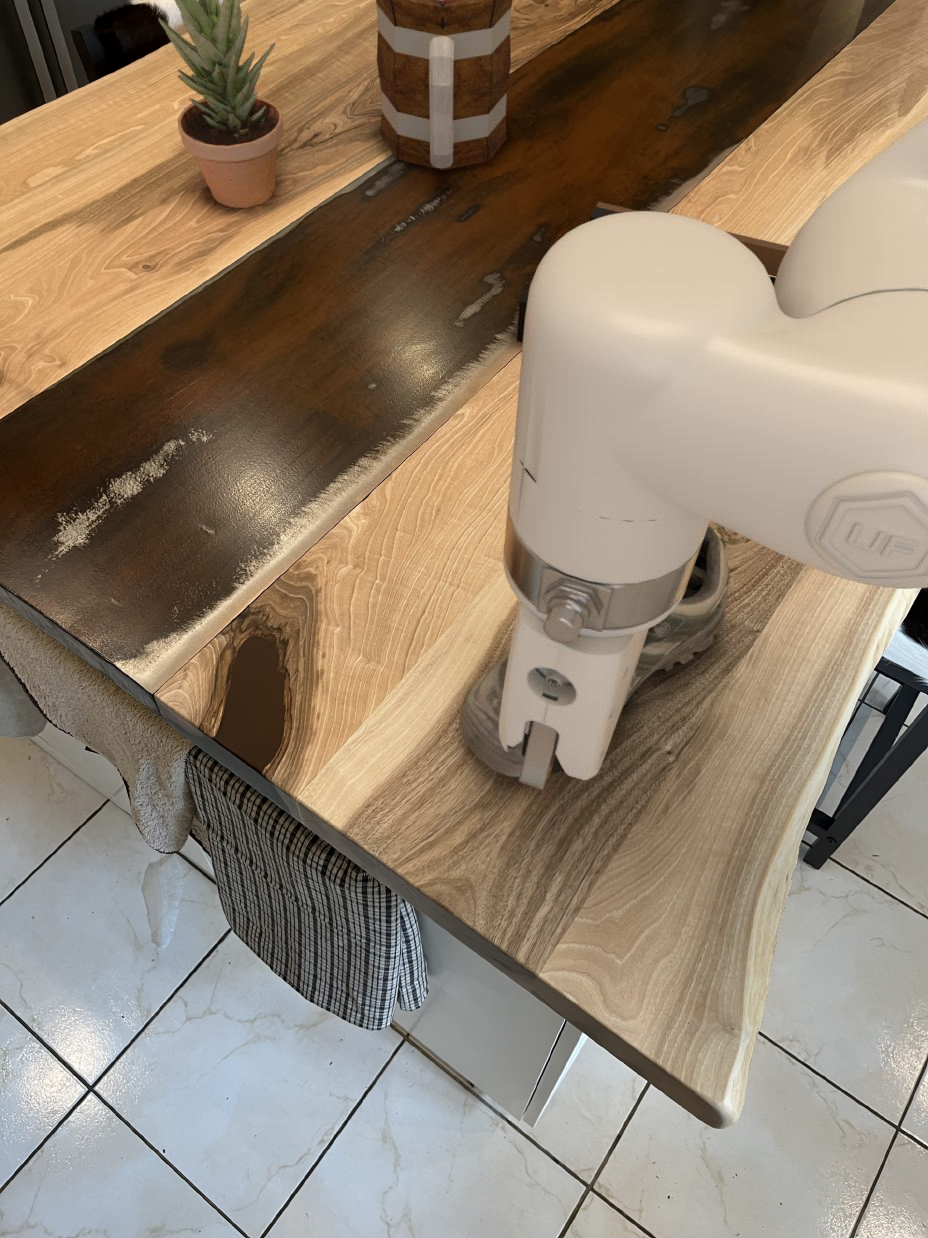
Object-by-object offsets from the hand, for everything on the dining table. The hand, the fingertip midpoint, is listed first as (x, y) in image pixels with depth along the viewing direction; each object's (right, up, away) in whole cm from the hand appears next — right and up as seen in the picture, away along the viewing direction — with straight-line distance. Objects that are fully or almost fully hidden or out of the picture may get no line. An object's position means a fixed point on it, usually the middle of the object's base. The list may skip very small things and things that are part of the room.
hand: (553, 754), depth 52 cm
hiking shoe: (+3, +4, +9) cm, 11 cm away
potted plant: (-27, +50, +42) cm, 70 cm away
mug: (-7, +56, +47) cm, 74 cm away
